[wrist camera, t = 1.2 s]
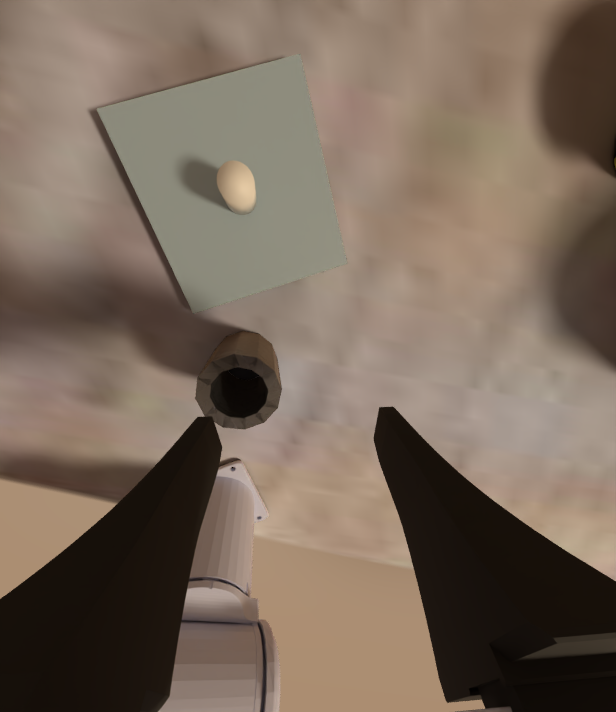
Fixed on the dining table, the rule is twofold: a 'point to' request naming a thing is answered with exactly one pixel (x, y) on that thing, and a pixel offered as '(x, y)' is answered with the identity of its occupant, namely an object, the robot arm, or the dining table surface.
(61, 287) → the dining table surface
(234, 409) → the tube
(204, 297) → the shaft plate
